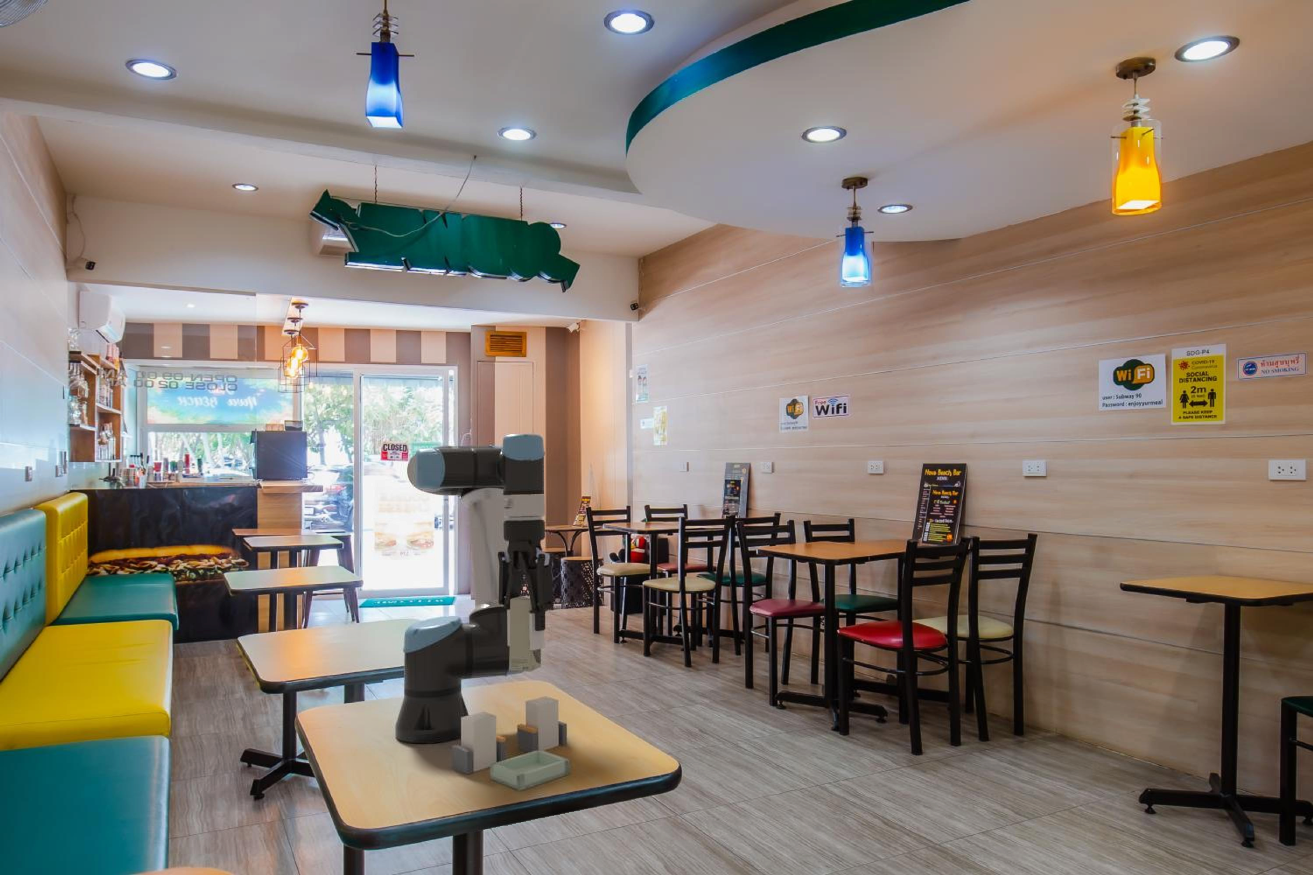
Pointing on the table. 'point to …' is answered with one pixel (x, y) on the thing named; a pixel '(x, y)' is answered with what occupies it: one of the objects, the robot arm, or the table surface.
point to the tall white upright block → (480, 739)
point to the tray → (529, 769)
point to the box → (521, 637)
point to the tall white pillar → (544, 721)
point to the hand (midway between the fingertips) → (525, 646)
